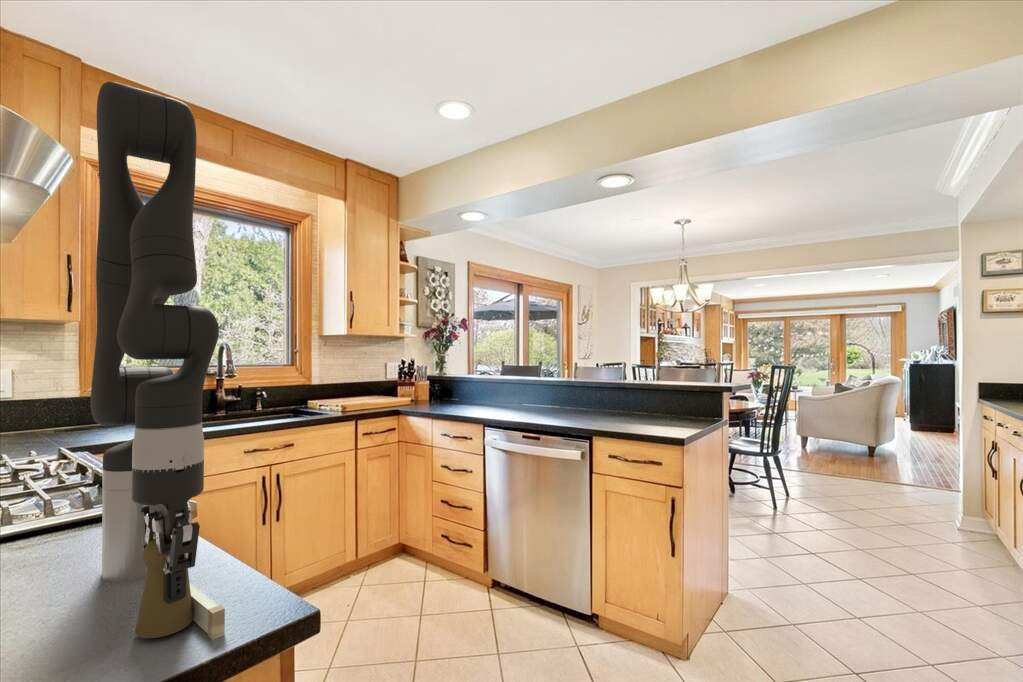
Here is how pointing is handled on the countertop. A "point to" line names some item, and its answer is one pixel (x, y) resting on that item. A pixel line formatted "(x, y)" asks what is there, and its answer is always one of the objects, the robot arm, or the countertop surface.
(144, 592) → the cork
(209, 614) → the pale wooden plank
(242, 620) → the countertop surface
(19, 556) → the countertop surface
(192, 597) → the gate door
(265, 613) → the countertop surface
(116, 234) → the robot arm
